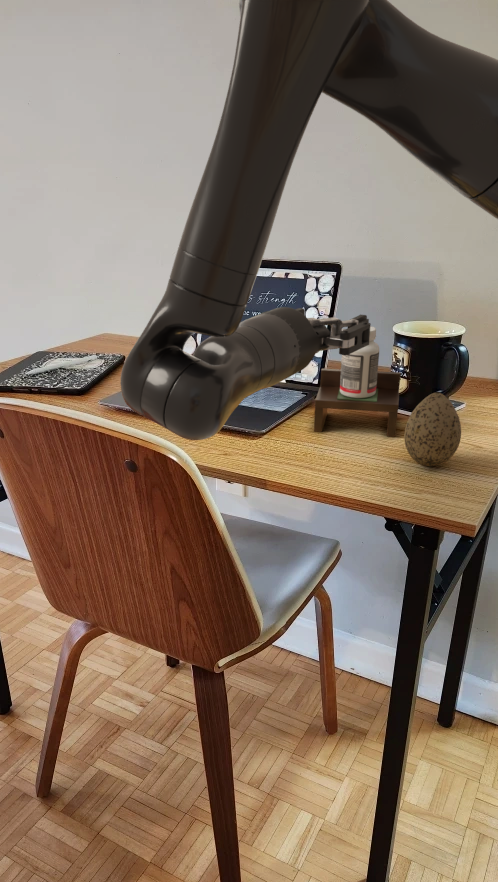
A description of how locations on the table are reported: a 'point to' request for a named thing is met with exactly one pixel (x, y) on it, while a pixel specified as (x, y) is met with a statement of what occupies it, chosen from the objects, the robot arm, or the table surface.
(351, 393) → the pill bottle
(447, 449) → the decorative egg
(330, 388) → the bench
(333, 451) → the table surface
